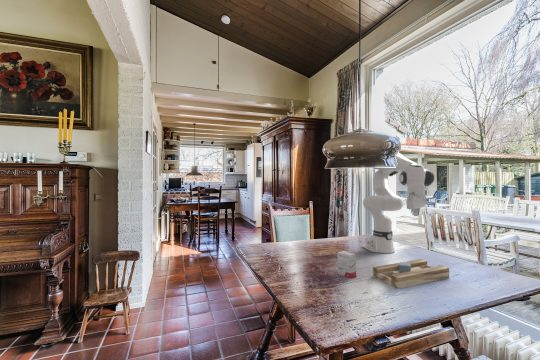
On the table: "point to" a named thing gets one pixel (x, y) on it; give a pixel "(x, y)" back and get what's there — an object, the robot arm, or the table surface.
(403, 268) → the slate block
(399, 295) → the table surface
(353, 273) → the ink box
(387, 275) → the trap lane
